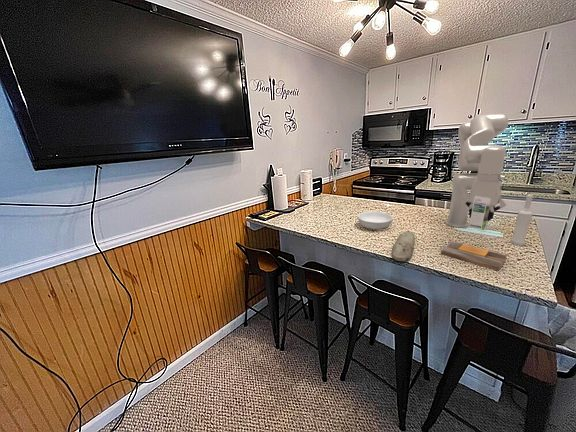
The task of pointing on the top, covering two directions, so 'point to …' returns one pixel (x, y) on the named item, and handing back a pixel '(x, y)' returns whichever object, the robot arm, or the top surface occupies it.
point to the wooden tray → (475, 256)
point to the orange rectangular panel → (474, 250)
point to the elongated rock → (403, 246)
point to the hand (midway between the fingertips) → (479, 218)
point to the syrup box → (480, 213)
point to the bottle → (522, 223)
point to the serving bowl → (375, 219)
